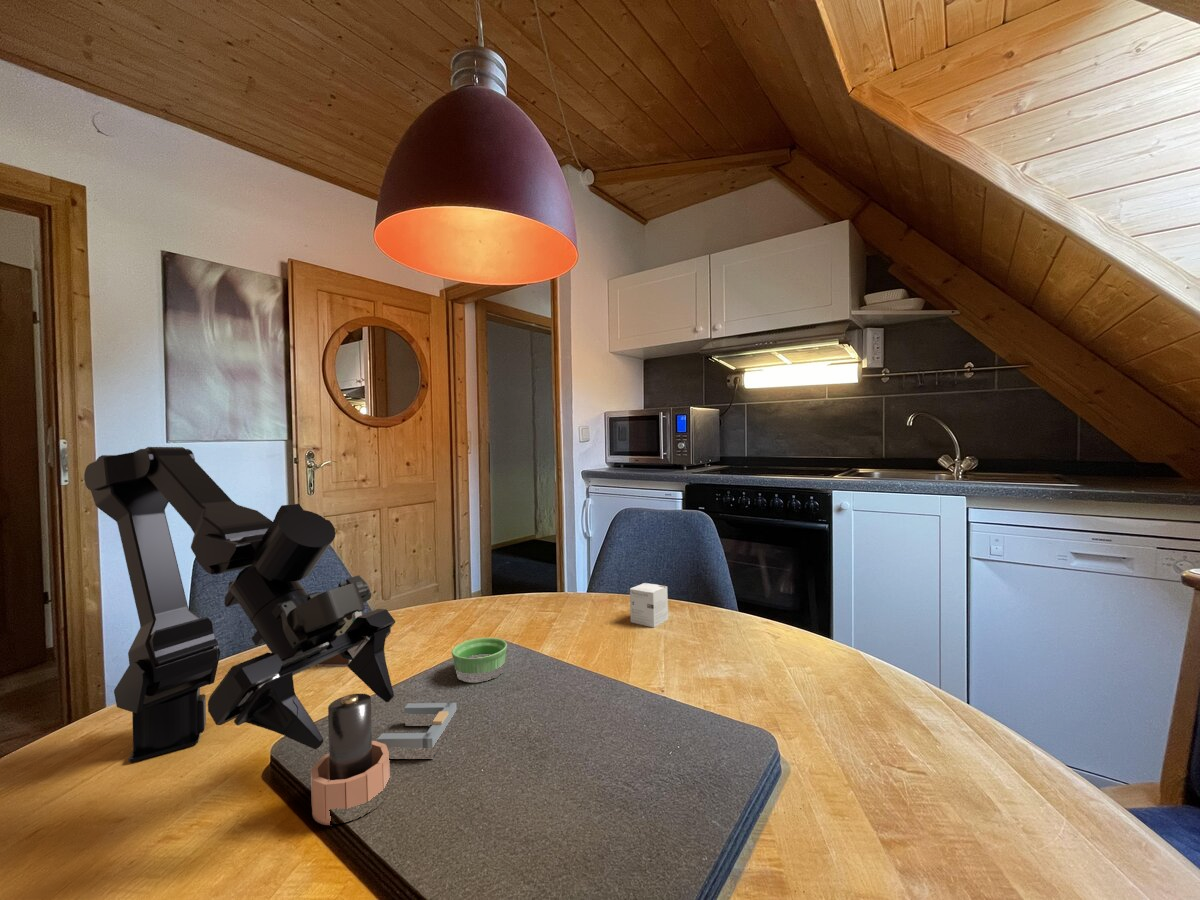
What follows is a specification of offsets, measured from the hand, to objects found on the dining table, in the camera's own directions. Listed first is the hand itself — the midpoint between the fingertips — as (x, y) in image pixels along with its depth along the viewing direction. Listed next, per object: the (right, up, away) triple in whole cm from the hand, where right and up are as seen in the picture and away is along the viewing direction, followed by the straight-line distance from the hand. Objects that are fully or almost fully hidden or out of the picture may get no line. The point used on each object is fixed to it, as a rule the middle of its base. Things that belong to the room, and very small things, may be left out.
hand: (358, 720), depth 51 cm
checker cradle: (+2, -9, +11) cm, 14 cm away
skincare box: (+36, -8, +52) cm, 64 cm away
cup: (-1, -8, 0) cm, 8 cm away
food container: (-23, -10, +38) cm, 46 cm away
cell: (-1, -8, 0) cm, 8 cm away
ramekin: (+5, -9, +30) cm, 32 cm away
